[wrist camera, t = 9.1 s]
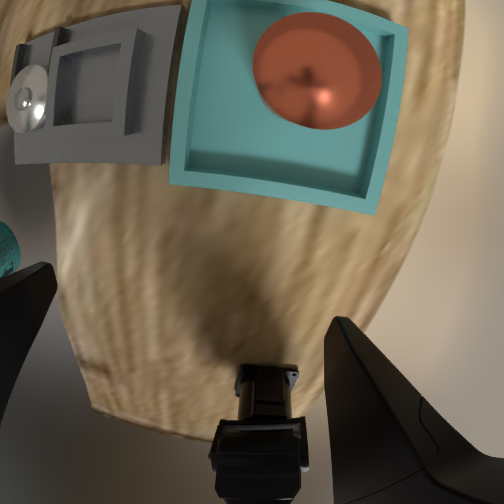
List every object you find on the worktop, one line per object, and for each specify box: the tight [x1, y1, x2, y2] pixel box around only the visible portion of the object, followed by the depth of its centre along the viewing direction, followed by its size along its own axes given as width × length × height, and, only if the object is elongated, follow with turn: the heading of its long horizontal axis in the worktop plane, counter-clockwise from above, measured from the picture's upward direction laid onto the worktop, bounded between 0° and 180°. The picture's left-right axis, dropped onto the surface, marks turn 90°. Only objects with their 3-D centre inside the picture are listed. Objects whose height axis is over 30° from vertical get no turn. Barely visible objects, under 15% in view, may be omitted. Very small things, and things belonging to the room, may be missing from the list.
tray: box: [169, 0, 408, 215], centre depth 15 cm, size 14×14×2 cm
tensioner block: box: [6, 5, 185, 165], centre depth 14 cm, size 12×16×3 cm
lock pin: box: [252, 12, 382, 130], centre depth 11 cm, size 4×4×10 cm
